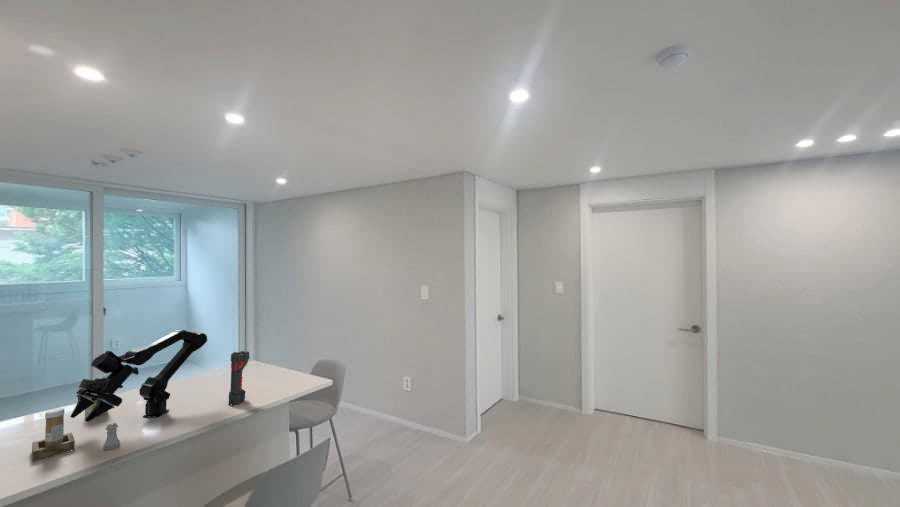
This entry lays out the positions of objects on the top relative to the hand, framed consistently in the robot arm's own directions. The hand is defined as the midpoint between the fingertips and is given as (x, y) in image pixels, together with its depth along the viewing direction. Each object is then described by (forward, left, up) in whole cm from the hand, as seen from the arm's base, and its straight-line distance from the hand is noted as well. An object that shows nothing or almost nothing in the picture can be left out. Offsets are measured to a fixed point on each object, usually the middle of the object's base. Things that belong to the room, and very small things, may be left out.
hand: (78, 419), depth 133 cm
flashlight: (-38, -37, -8) cm, 53 cm away
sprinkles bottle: (+2, +6, -8) cm, 10 cm away
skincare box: (+15, -24, -8) cm, 30 cm away
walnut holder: (+2, +6, -8) cm, 11 cm away
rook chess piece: (-16, +4, -8) cm, 18 cm away
